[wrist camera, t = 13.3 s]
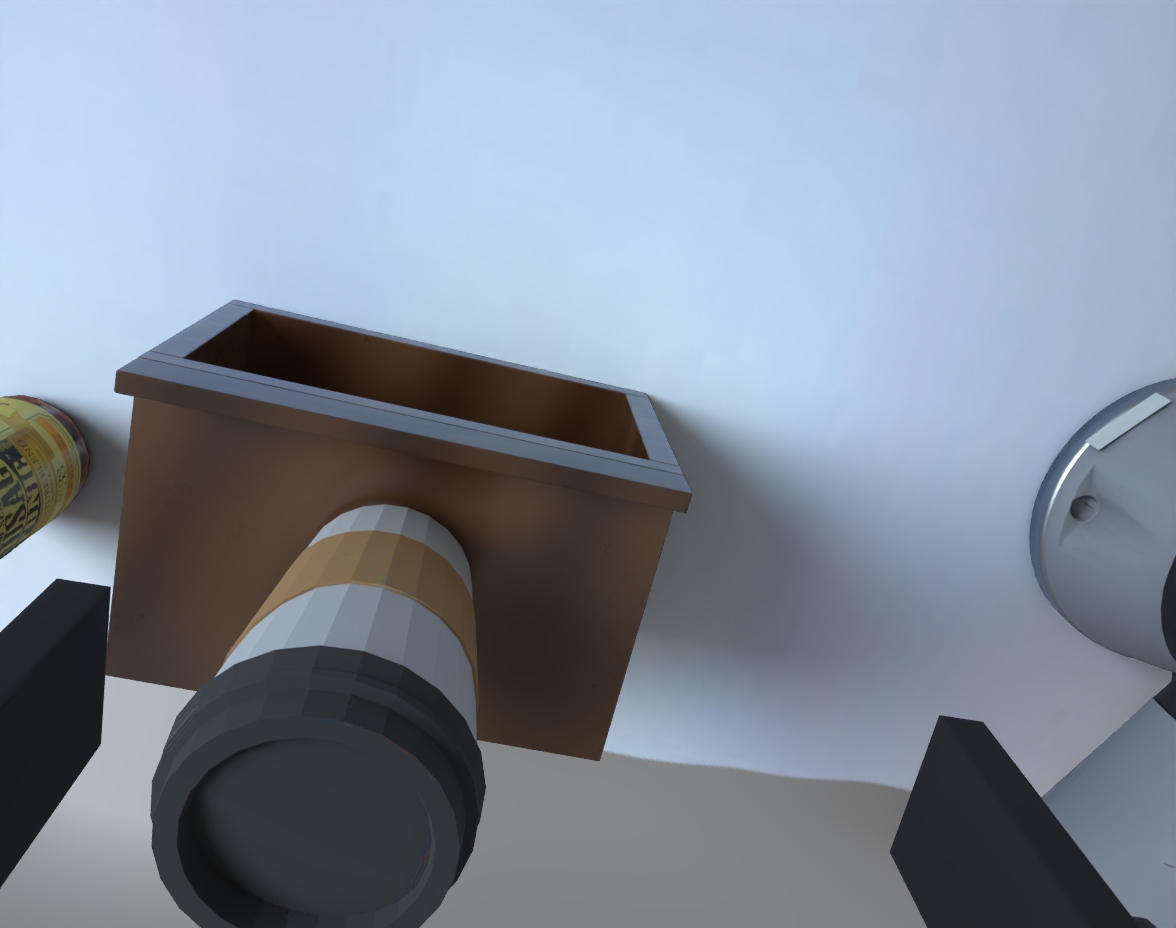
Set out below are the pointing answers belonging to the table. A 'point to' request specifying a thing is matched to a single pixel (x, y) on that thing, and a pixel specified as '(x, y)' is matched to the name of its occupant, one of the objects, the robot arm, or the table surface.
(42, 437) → the sauce bottle
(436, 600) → the coffee cup
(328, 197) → the table surface
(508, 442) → the box
